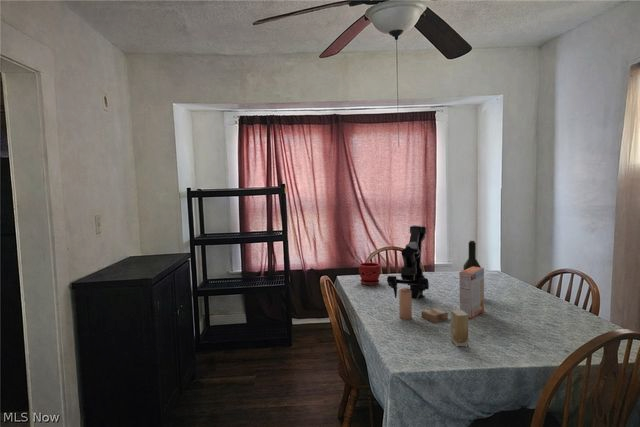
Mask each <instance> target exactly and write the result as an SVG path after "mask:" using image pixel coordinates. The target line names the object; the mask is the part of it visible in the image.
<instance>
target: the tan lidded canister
mask: <svg viewBox="0 0 640 427" xmlns="http://www.w3.org/2000/svg"><path fill="white" fill-rule="evenodd" d="M398 297H399V298H398V299H399V300H398V303H399V306H398V309H399V310H398V313H399V314H398V316H399V319H401V320H403V321H409V320H412V318H413V317H412V316H413V311H412V310H413V308H412V307H413V305H412V304H413V303H412V298H413V297H412V291H411V290H410V288H406V287H404V288H402V287H401V288H400V289H399V292H398Z"/></svg>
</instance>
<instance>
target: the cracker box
mask: <svg viewBox="0 0 640 427" xmlns="http://www.w3.org/2000/svg"><path fill="white" fill-rule="evenodd" d="M480 267H481V266H480ZM480 267H470V268H468V269H466V270H464V269H463V270H461V271H459V310H462V311H464V312H465V313H466V314H468V315H469V319H471V320H473V319H475V317H477V316H479V315H480V314H482V313H483V312H484V311H485V268H484V267H481V268H480Z"/></svg>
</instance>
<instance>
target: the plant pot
mask: <svg viewBox="0 0 640 427" xmlns="http://www.w3.org/2000/svg"><path fill="white" fill-rule="evenodd" d="M381 267H382V266H381V264H380V263H377V262H361V263H359V265H358V272H359V277H360V280H359V281H360V283H361V284H363V285H365V286H375V285H377V284H379V283H380V280H379V278H380V275H381Z"/></svg>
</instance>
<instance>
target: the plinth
mask: <svg viewBox="0 0 640 427" xmlns="http://www.w3.org/2000/svg"><path fill="white" fill-rule="evenodd" d="M448 314H449V312H446V311H444V310H441V309H438V308H435V307H433V308H429V309H426V310H422V311H421V318H422V319H424V320H427V321H430V322H432V323H439V322H442V321H446V320H449V318H448V317H449V316H448Z"/></svg>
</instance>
